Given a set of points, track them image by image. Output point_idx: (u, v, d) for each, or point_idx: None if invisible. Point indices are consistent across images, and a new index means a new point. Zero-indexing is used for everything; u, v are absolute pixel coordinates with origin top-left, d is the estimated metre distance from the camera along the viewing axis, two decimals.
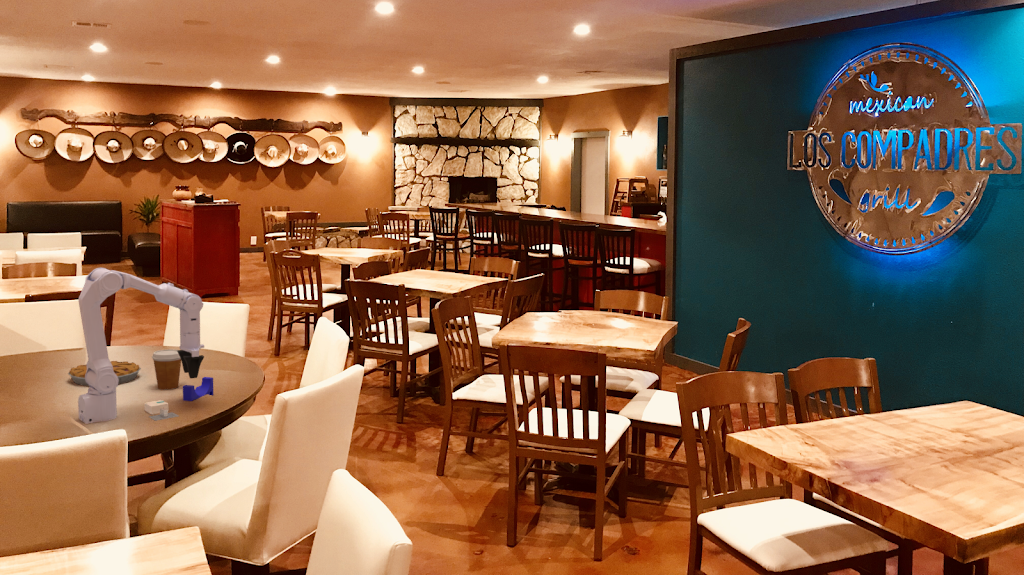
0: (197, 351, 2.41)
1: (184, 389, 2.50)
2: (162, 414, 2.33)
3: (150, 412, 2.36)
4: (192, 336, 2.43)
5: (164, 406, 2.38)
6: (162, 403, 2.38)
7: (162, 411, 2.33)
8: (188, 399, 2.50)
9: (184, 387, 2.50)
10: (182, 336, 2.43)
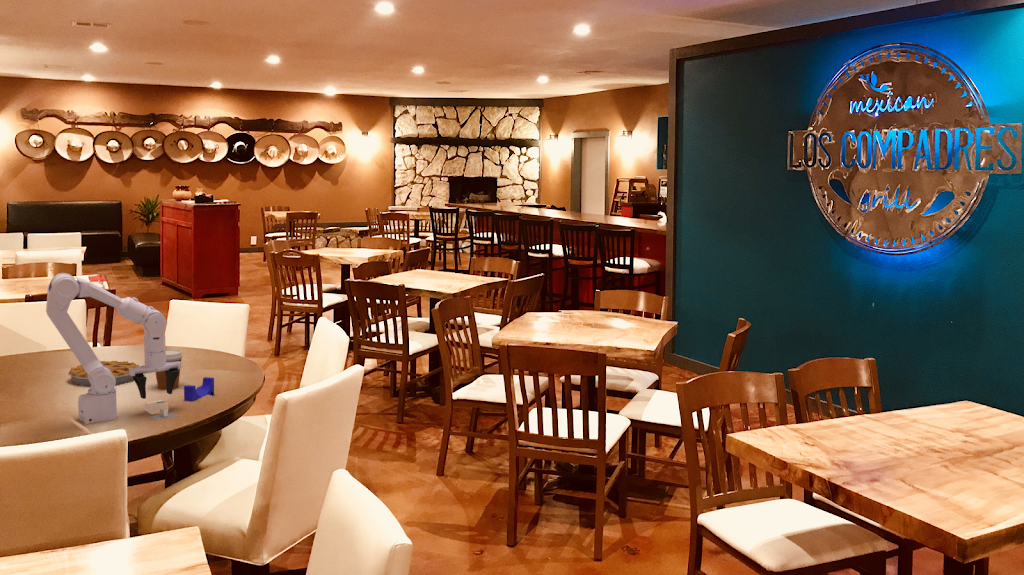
0: (130, 370, 2.31)
1: (185, 389, 2.50)
2: (162, 414, 2.33)
3: (150, 412, 2.36)
4: (145, 355, 2.34)
5: (164, 406, 2.38)
6: (162, 403, 2.38)
7: (162, 411, 2.33)
8: (189, 399, 2.50)
9: (185, 387, 2.50)
10: None
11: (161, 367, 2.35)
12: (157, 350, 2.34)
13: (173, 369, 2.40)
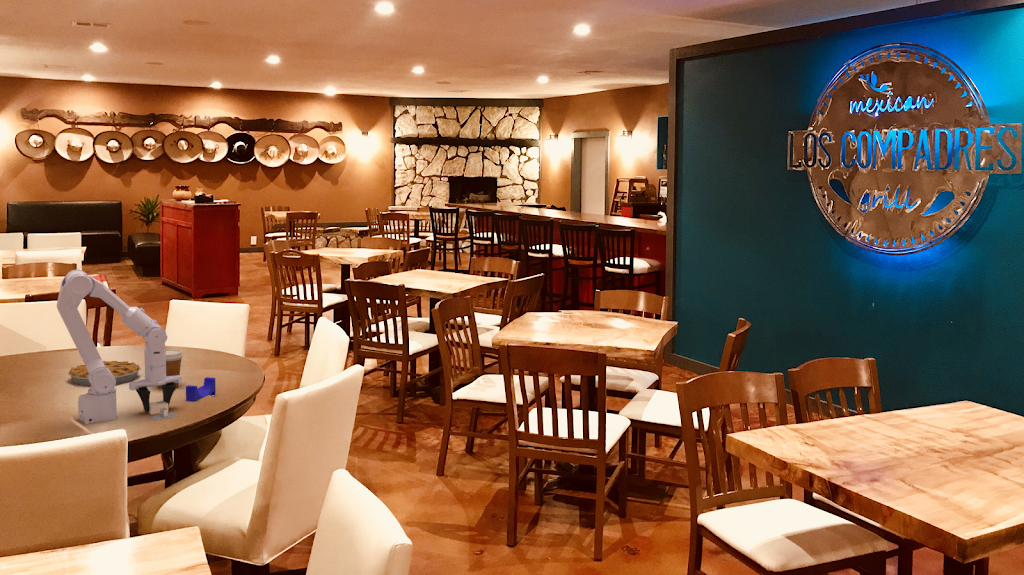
0: (131, 384, 2.32)
1: (187, 389, 2.50)
2: (162, 414, 2.33)
3: (150, 412, 2.36)
4: (145, 369, 2.35)
5: (164, 406, 2.38)
6: (162, 403, 2.38)
7: (162, 411, 2.33)
8: (191, 399, 2.50)
9: (187, 387, 2.50)
10: None
11: (161, 381, 2.35)
12: (157, 364, 2.34)
13: (173, 383, 2.40)
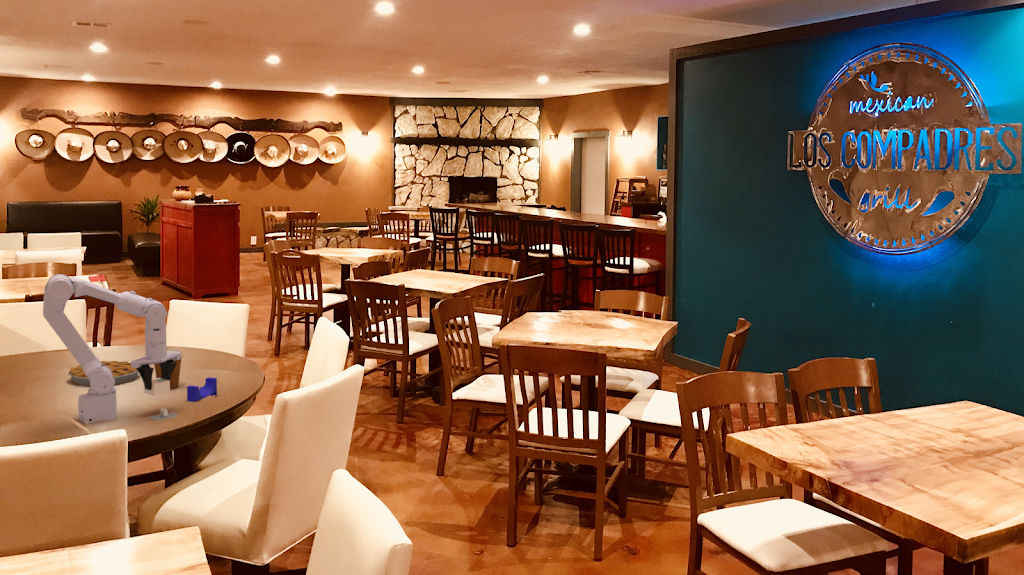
0: (134, 362, 2.29)
1: (188, 390, 2.49)
2: (162, 414, 2.33)
3: (153, 390, 2.34)
4: (147, 346, 2.33)
5: (166, 383, 2.37)
6: (163, 380, 2.37)
7: (162, 411, 2.33)
8: (192, 400, 2.50)
9: (188, 388, 2.49)
10: None
11: (164, 358, 2.34)
12: (157, 341, 2.33)
13: (173, 360, 2.40)
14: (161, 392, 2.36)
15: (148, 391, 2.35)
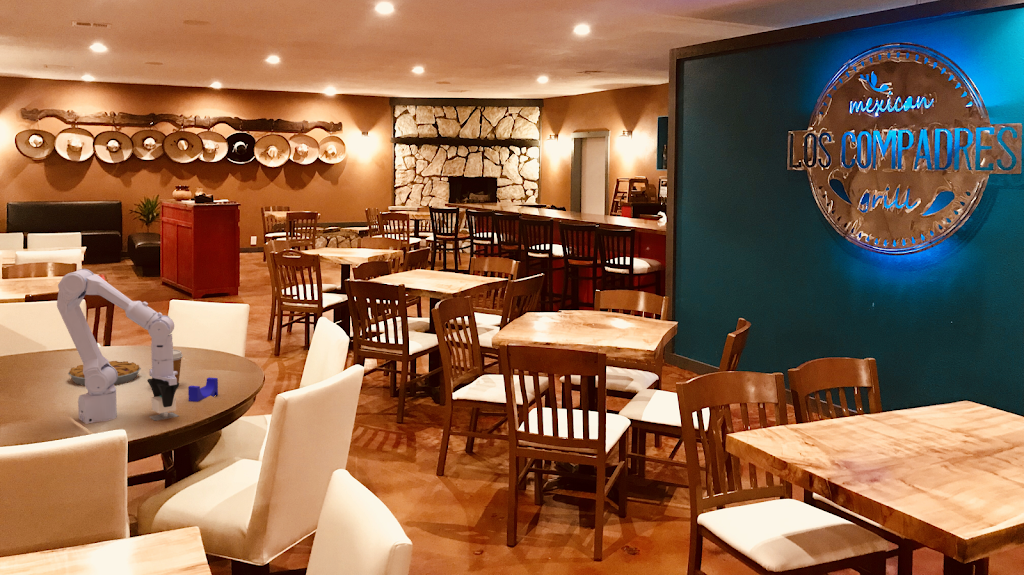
0: (175, 379, 2.27)
1: (190, 390, 2.49)
2: (162, 414, 2.33)
3: (173, 405, 2.33)
4: (166, 363, 2.30)
5: None
6: None
7: None
8: (194, 400, 2.50)
9: (190, 388, 2.49)
10: (155, 364, 2.29)
11: (174, 371, 2.35)
12: (160, 358, 2.29)
13: None
14: None
15: (165, 409, 2.31)
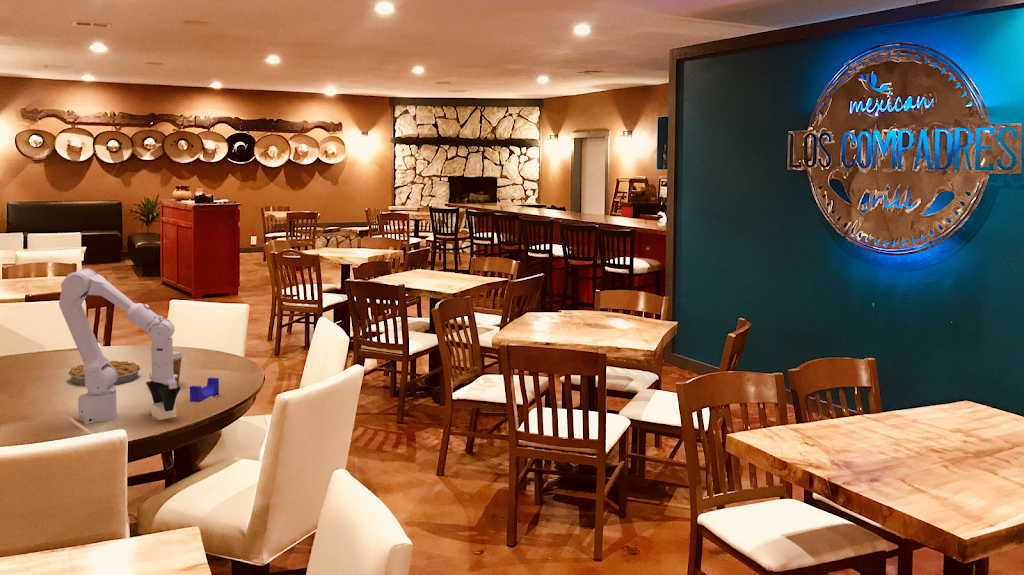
0: (175, 382, 2.28)
1: (191, 390, 2.49)
2: None
3: (173, 411, 2.33)
4: (166, 367, 2.30)
5: None
6: None
7: None
8: (195, 400, 2.49)
9: (191, 388, 2.49)
10: (155, 367, 2.29)
11: (174, 374, 2.35)
12: (160, 362, 2.29)
13: None
14: None
15: (166, 415, 2.32)
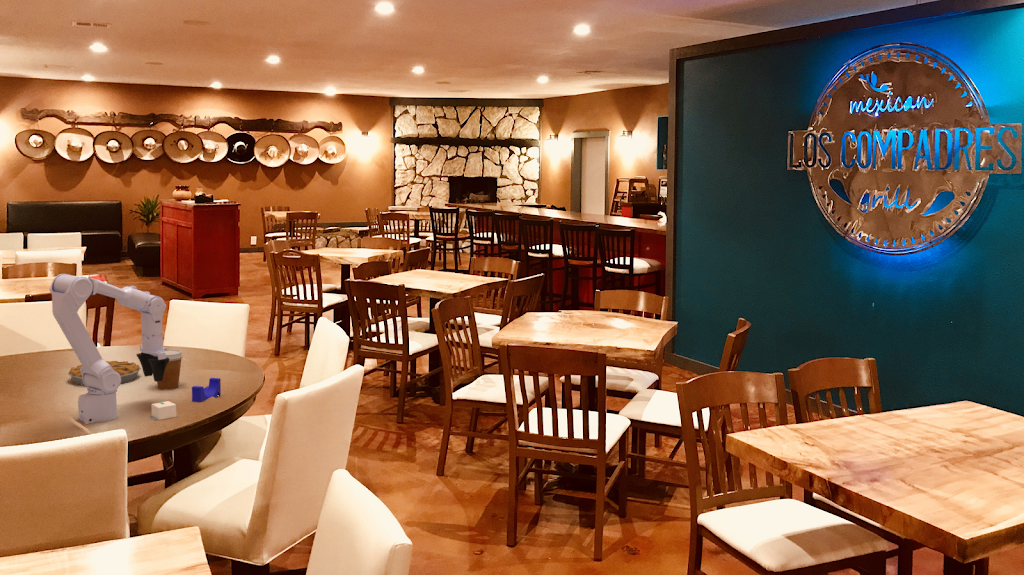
0: (164, 353, 2.38)
1: (193, 390, 2.49)
2: None
3: (173, 411, 2.33)
4: (156, 339, 2.40)
5: None
6: (166, 402, 2.35)
7: None
8: (197, 400, 2.49)
9: (193, 388, 2.49)
10: (145, 339, 2.39)
11: (163, 347, 2.45)
12: (158, 333, 2.40)
13: None
14: None
15: (166, 415, 2.32)
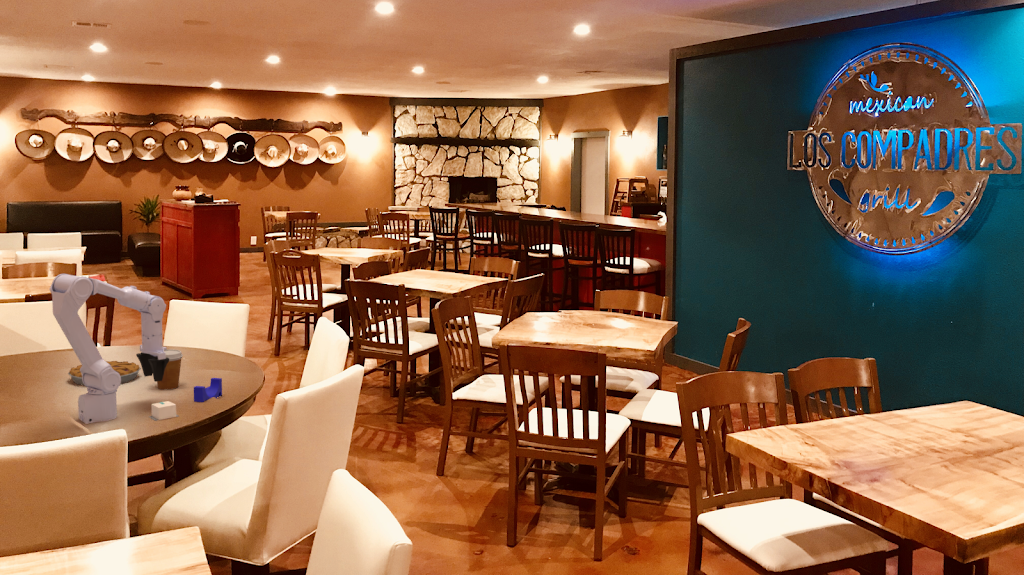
0: (164, 353, 2.38)
1: (195, 390, 2.49)
2: None
3: (173, 411, 2.33)
4: (156, 339, 2.40)
5: None
6: (166, 402, 2.35)
7: None
8: (199, 400, 2.49)
9: (195, 388, 2.49)
10: (145, 339, 2.39)
11: (163, 347, 2.45)
12: (158, 333, 2.41)
13: None
14: None
15: (166, 415, 2.32)
